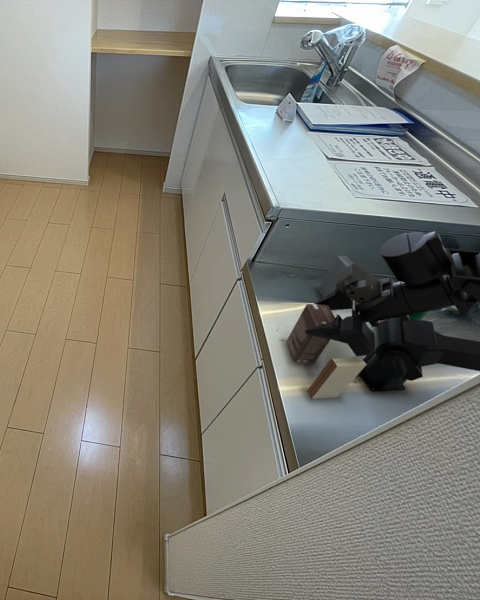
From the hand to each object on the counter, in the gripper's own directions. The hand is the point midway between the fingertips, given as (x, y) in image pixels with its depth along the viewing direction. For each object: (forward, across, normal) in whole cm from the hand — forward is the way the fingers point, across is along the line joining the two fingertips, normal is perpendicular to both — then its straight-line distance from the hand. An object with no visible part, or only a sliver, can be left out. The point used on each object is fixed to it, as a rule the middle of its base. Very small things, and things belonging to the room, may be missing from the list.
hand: (307, 320), depth 69 cm
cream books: (+2, +9, +12) cm, 15 cm away
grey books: (+3, -22, +11) cm, 24 cm away
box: (+6, 0, +8) cm, 10 cm away
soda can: (-5, -13, +19) cm, 24 cm away
